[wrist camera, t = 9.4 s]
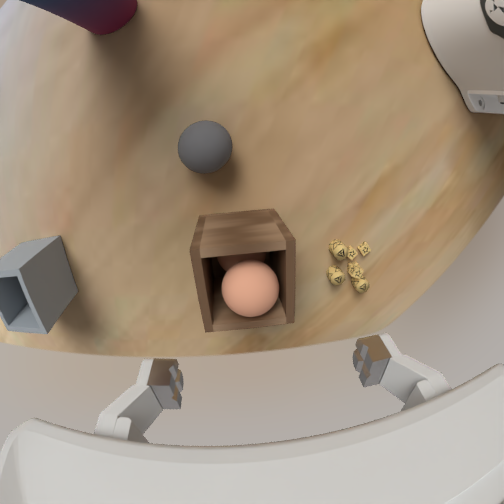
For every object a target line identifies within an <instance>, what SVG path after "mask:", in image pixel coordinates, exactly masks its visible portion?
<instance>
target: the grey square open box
mask: <svg viewBox="0 0 504 504" xmlns="http://www.w3.org/2000/svg"><path fill="white" fill-rule="evenodd" d="M77 292H78V289H77V286H76V284H75V281H74V278H73V275H72V272H71V269H70V266H69V263H68V260H67V257H66V254H65V250H64V247H63V243H62V240H61V236H54V237H49V238H43V239H38V240H33V241H28V242H23V243H20V244H19V245H18V246H16V247H15V248H13V249H12V250H11V251H9V252H8V253H7V254H5V255H4V256H3V257H1V258H0V317H1V319H2V321H3V323H4V324H5V326H6V328H7V330H8V331H16V332H27V333H40V334H48V333H49V331H50V330H51V328H52V327H53V325H54V324H55V323H56V321H57V320H58V318H59V317H60V315H61V314H62V313H63V311H64V310H65V308H66V307H67V306H68V304H69V303H70V302H71V300H72V299H73V298H74V296H75V295H76V294H77Z"/></svg>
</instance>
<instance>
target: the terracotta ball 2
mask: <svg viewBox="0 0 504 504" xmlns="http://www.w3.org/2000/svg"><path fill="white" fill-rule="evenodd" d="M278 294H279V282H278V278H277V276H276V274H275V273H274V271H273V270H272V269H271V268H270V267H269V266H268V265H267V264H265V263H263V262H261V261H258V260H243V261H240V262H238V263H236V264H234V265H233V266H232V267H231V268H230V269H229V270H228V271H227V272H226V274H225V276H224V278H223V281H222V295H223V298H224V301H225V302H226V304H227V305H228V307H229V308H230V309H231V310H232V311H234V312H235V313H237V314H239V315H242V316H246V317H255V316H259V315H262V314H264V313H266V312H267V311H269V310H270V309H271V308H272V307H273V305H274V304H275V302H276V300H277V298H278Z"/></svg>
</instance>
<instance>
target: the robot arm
mask: <svg viewBox="0 0 504 504" xmlns="http://www.w3.org/2000/svg"><path fill="white" fill-rule="evenodd" d="M421 15H422V21H423V25H424V29H425V32H426V35H427V37H428V40H429V42H430V44H431V46H432V49H433V50H434V52H435V54H436V56H437V58H438V60H439V61H440V63H441V64H442V66H443V67H444V69H445V70H446V72H447V73H448V74H449V76H450V77H451V78H452V80H453V81H454V82H455V83H456V85H457V86H458V88H459V89H460V91H461V94H462V96H463V98H464V101H465V103H466V105H467V107H468V109H469V110H470V111H471V112H474V113H492V114H504V0H423V2H422V6H421ZM356 347H357V349H356V350H355V351H354V353H353V364H354V367H355V369H356V371H358V372H360V375H359V378H360V380H361V383H362V385H363V387H367V386H371V385H375V384H379V383H380V385H381V386H382V387H384V388H385V389H386V390H388V391H389V392H390V393H392V394H393V395H394V396H396V397H397V398H399V399H400V400H401V401H403V402H404V403H405V405H404V407H403V408H402V410H401V411H400V412H398V413H395V414H393V415H390V416H387V417H384V418H381V419H378V420H374V421H371V422H368V423H365V424H361V425H357V426H354V427H350V428H346V429H342V430H338V431H334V432H329V433H325V434H320V435H315V436H310V437H305V438H299V439H292V440H285V441H278V442H270V443H260V444H248V445H234V446H233V445H232V446H180V445H164V444H153V443H149V442H148V441H147V439H146V438H145V437H144V436H143V434H144V433H145V431H146V430H147V429H148V427H149V426H150V425H151V424H152V423H153V422H154V420H155V419H156V418H157V416H158V415H159V414H160V413H161V412H162V410H163V409H180V408H181V400H182V397H181V394H180V392H181V391H182V390H183V376H182V372H181V370H179V369H178V362H177V359H156V358H155V359H151V358H144V360H143V361H142V364H141V368H140V371H139V374H138V378H137V381H136V385H132V386H131V387H130V388H129V389H127V390H126V391H125V392H124V393H123V394H122V395H121V396H119V397H118V398H117V399H116V400H115V401H114V402H112V403H111V404H110V405H109V406H108V407H107V408H106V409H104V410H103V411H102V412H101V413H100V415H99V419H98V422H97V425H96V429H95V432H94V434H90V433H86V432H82V431H78V430H74V429H70V428H66V427H63V426H59V425H56V424H53V423H49V422H47V421H44V420H41V419H38V418H32V419H29V420H27V421H26V422H24V423H23V424H21V425H20V426H18V427H17V428H15V429H14V430H13V431H12V432H11V433H10V434H9V436H8V437H7V439H6V441H5V443H4V445H3V447H2V450H1V452H0V504H504V364H496V365H494V366H493V367H491V368H489V369H488V370H486V371H485V372H483V373H481V374H479V375H478V376H476V377H474V378H473V379H471V380H469V381H467V382H465V383H463V384H462V385H460V386H458V387H456V388H454V389H452V388H451V387H450V385H449V384H448V382H447V381H446V379H445V378H444V376H443V375H442V373H441V372H439V371H437V370H435V369H433V368H431V367H429V366H427V365H425V364H423V363H421V362H419V361H417V360H415V359H413V358H411V357H409V356H407V355H405V354H403V355H402V354H401V352H400V351H399V349H398V348H397V346H396V345H395V343H394V342H393V340H392V339H391V337H390V336H389V334H388V333H382V334H378V335H373V336H369V337H365V338H360V339H358V340H357V342H356Z"/></svg>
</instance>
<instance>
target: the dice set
mask: <svg viewBox="0 0 504 504" xmlns="http://www.w3.org/2000/svg"><path fill="white" fill-rule="evenodd" d="M357 248H358V249H359V251H360V252H361V254H362V255H363V256H365V255H366V254H367V253H368V252H369V251H371V249H370V248H369V246H368V244H367V243H366V242H365V241H364V242H363V243H362V244H361V245H359V246H358V247H357ZM329 251H330V252H331V253H332V254H333V255H334V257H335V258H337V259H338V260H344V259H345V258H346V257H348V258H350V259H351V260H352V259H353V258H354V257H355V256H356V255H357V254H358V253H357V252H356V251H355V250H354V249H353V248H352V247H351V246H349V247H348V248H347V247H346V246H345V245H344V244H343V243H342V242H341V241H340V240H333V241H332V242H331V243H330V244H329ZM358 265H359V264H358V263H357V262H351V263H348V267H347V272H348V273H349V274H350V275H351V276H352V277H353V278H352V279H351V282H352V285H353V286H354V288H355V289H356V290H357V291H358V292H360V293H363V292H366V291H367V290H368V288H369V282H368V281H367V280H366V279H365V278H364V276H363V275H362V273H363V271H364V270H363V269H362V268H361V267H360V266H358ZM326 272H327V277H328V278H329V280H330V281H331V283H332V284H334V285H335V286H338V285H341V284H342V283H343V282H344V281H345V274H344V273H343V272H342V271H341V269H340V268H339V267H337V266H336V265H334V266H331V267H329V268H328V270H327V271H326Z"/></svg>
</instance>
